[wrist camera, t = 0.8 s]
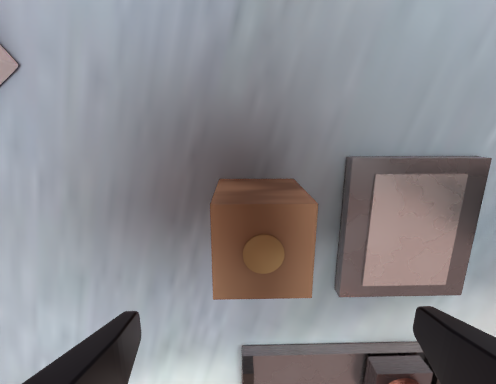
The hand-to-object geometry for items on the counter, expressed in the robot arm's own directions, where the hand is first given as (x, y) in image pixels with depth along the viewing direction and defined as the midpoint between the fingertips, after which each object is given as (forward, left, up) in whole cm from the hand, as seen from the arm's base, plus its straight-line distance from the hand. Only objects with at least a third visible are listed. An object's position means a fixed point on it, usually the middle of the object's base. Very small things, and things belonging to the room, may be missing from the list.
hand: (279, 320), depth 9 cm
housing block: (0, 0, -11) cm, 11 cm away
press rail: (-6, +13, -11) cm, 18 cm away
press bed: (-10, +1, -11) cm, 15 cm away
